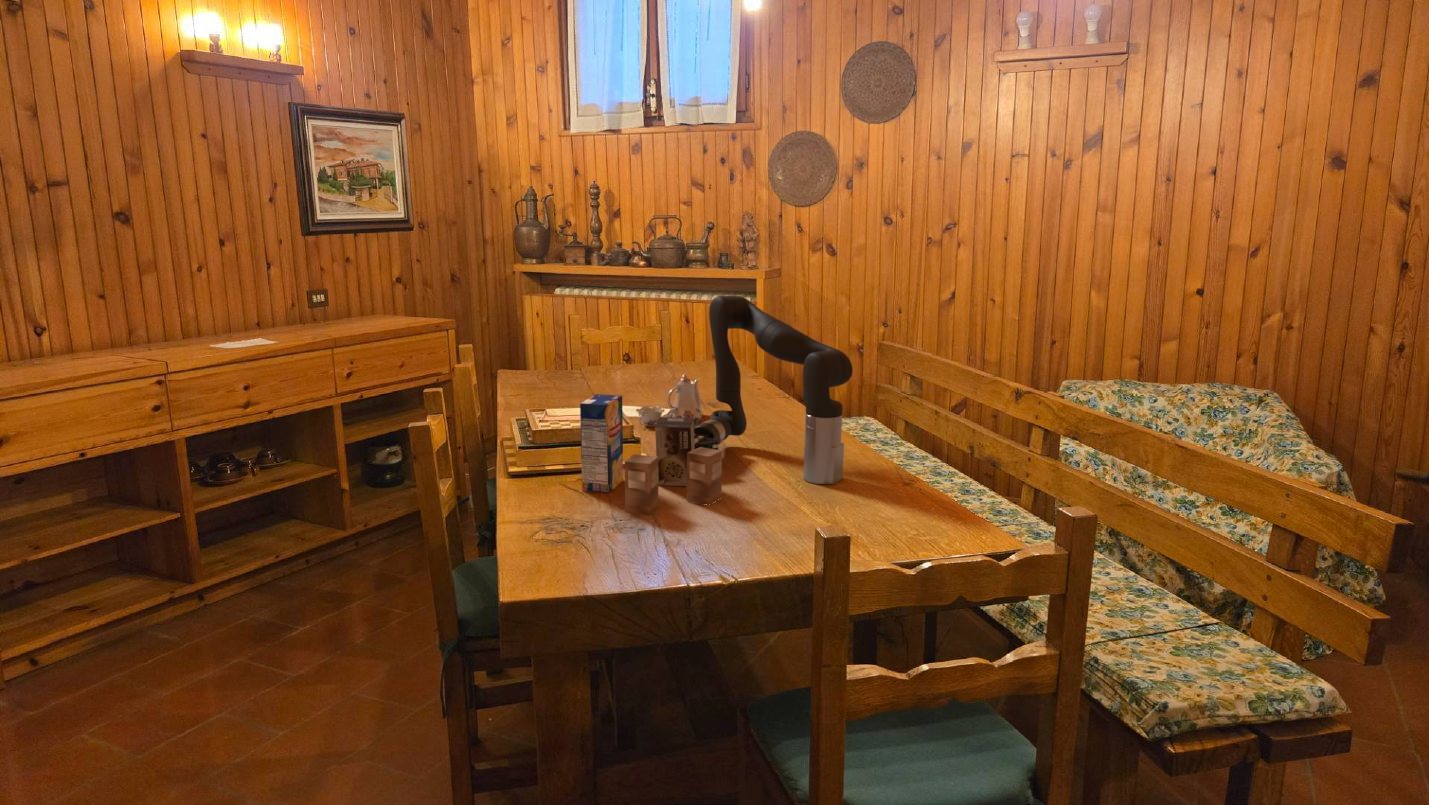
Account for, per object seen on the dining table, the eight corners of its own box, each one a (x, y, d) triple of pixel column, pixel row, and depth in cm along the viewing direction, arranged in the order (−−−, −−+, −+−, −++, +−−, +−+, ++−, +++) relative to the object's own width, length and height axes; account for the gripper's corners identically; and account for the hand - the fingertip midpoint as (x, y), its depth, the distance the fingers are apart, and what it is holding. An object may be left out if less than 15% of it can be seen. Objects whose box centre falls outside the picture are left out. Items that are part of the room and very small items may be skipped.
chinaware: (685, 415, 312) (681, 366, 310) (726, 418, 302) (722, 367, 300) (629, 432, 290) (625, 379, 288) (671, 436, 280) (667, 381, 278)
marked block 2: (722, 499, 224) (723, 450, 221) (709, 506, 219) (709, 457, 216) (700, 494, 227) (700, 446, 224) (686, 501, 222) (686, 453, 219)
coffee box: (696, 476, 239) (695, 417, 233) (692, 487, 233) (691, 427, 227) (660, 474, 240) (658, 416, 234) (656, 485, 234) (654, 426, 228)
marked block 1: (660, 506, 219) (659, 456, 216) (651, 515, 213) (650, 464, 210) (634, 503, 220) (633, 454, 218) (624, 512, 214) (623, 462, 212)
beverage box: (581, 491, 229) (579, 403, 224) (597, 478, 239) (596, 393, 234) (608, 493, 227) (607, 405, 222) (623, 480, 237) (622, 395, 233)
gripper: (684, 420, 254) (659, 434, 238) (730, 424, 250) (707, 439, 234) (684, 446, 256) (659, 462, 240) (730, 451, 251) (707, 468, 235)
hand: (683, 451), depth 237 cm, fingers closed
